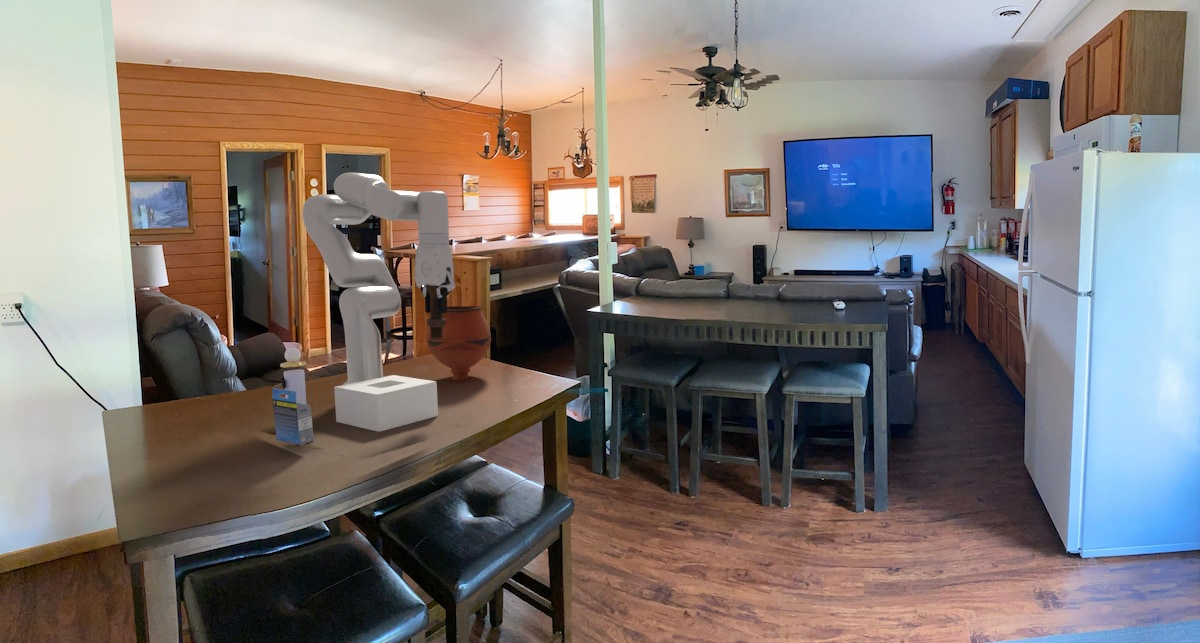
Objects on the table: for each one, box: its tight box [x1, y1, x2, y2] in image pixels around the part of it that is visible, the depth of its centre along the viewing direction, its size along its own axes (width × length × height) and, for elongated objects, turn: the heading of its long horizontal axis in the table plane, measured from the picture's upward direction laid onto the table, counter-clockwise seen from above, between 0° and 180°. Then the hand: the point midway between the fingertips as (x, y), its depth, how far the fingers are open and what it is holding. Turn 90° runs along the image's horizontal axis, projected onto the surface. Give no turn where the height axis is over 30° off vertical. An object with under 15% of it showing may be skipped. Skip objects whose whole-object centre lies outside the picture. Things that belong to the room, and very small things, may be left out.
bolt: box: [425, 282, 446, 340], centre depth 177 cm, size 6×5×15 cm
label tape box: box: [272, 387, 315, 445], centre depth 157 cm, size 9×4×12 cm, turn 59°
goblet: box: [426, 305, 492, 381], centre depth 213 cm, size 19×19×25 cm
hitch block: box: [333, 374, 439, 433], centre depth 176 cm, size 17×18×9 cm
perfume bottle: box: [279, 346, 307, 404], centre depth 167 cm, size 6×6×20 cm
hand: (436, 311), depth 177 cm, fingers closed on bolt, 3 cm apart
